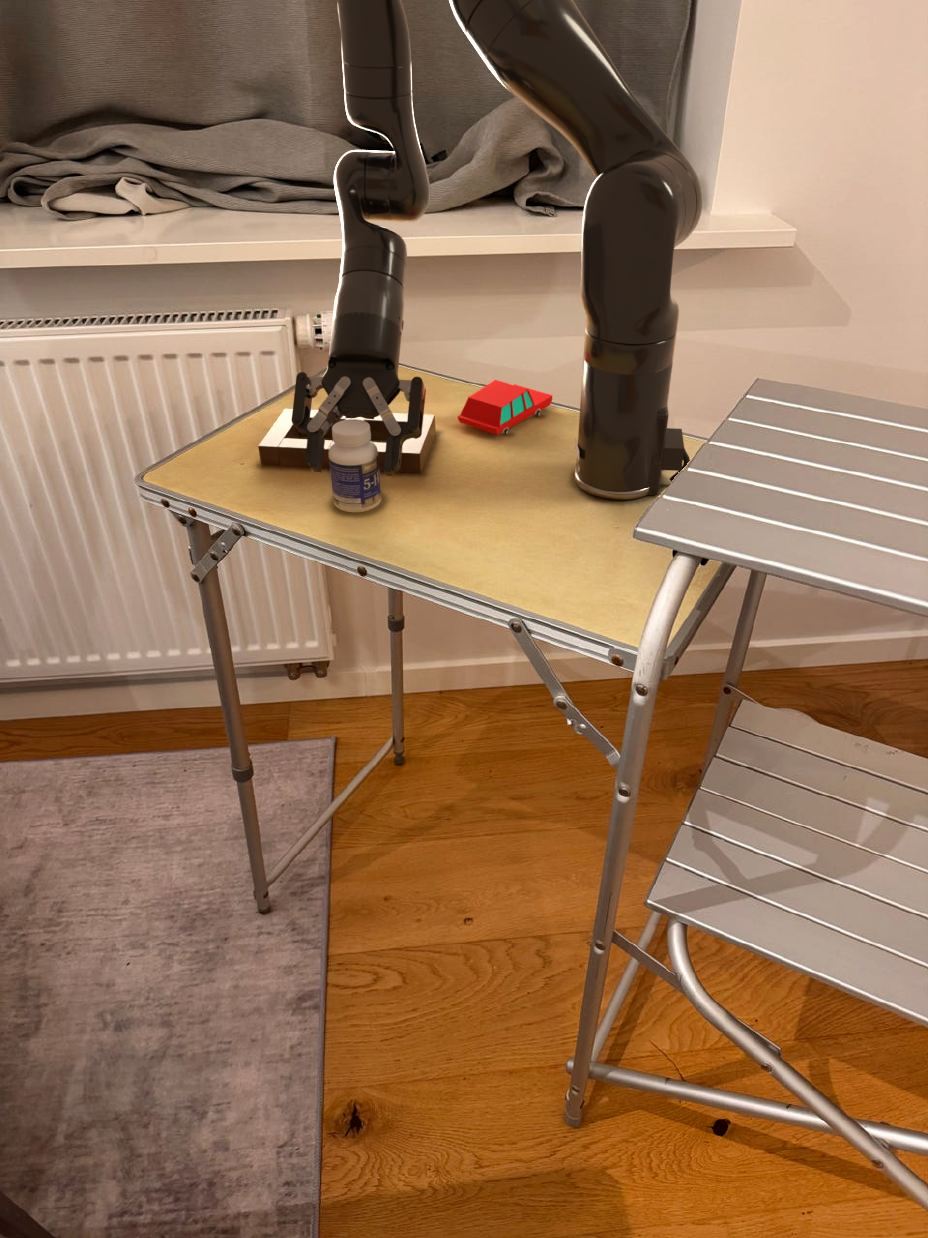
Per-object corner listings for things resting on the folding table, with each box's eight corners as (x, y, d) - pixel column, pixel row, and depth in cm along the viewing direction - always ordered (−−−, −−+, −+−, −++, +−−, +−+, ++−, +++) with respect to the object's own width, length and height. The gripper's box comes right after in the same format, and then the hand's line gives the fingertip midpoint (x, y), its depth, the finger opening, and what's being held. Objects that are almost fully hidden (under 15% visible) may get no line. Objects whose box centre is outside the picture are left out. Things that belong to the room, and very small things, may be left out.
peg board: (435, 433, 113) (434, 414, 112) (420, 473, 104) (419, 453, 103) (287, 426, 115) (284, 408, 114) (261, 465, 107) (257, 445, 105)
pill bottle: (373, 515, 97) (367, 439, 91) (327, 511, 98) (318, 435, 92) (387, 492, 101) (381, 418, 96) (342, 488, 102) (334, 414, 97)
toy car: (553, 408, 119) (555, 378, 116) (497, 439, 111) (498, 409, 109) (513, 396, 122) (514, 367, 120) (457, 426, 115) (456, 396, 112)
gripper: (293, 307, 95) (275, 457, 92) (427, 311, 93) (413, 464, 91) (312, 339, 102) (296, 479, 100) (437, 343, 100) (424, 486, 98)
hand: (352, 472), depth 95 cm, fingers open, 7 cm apart
